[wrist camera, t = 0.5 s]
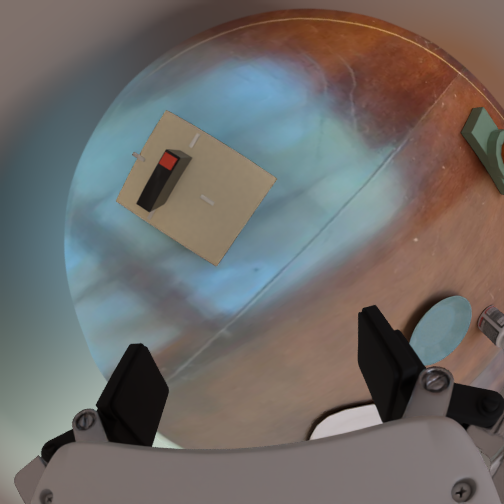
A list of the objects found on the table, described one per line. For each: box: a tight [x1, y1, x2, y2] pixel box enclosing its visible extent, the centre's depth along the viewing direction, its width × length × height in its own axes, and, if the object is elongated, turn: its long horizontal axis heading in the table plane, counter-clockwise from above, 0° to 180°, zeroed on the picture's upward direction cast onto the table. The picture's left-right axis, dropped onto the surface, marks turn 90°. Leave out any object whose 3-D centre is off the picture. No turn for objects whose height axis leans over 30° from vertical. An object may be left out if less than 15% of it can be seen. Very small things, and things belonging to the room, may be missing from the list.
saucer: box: [409, 296, 472, 366], centre depth 31 cm, size 12×12×2 cm
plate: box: [309, 403, 383, 440], centre depth 40 cm, size 22×22×2 cm
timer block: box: [461, 107, 504, 195], centre depth 22 cm, size 12×6×4 cm, turn 56°
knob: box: [136, 149, 192, 212], centre depth 21 cm, size 5×1×4 cm, turn 146°
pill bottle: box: [478, 306, 504, 350], centre depth 28 cm, size 5×5×8 cm
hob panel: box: [116, 110, 277, 266], centre depth 25 cm, size 13×10×3 cm
